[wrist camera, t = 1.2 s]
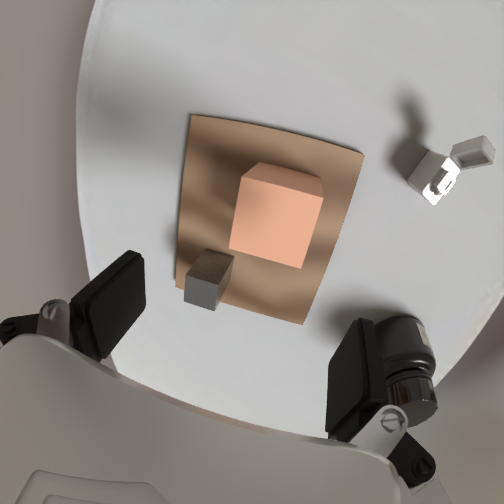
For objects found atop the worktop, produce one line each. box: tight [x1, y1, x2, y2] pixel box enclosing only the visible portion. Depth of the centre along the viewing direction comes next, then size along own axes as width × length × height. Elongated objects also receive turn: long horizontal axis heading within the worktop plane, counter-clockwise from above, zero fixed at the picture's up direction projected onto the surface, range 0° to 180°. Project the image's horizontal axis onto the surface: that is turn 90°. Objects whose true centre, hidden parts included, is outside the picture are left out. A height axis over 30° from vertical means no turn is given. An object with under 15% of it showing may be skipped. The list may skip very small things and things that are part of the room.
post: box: [184, 248, 235, 311], centre depth 27 cm, size 3×3×5 cm
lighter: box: [407, 135, 496, 205], centre depth 17 cm, size 7×2×8 cm, turn 149°
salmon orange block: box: [229, 162, 324, 269], centre depth 22 cm, size 6×6×7 cm
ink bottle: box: [374, 317, 438, 428], centre depth 25 cm, size 10×9×12 cm
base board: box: [175, 115, 365, 325], centre depth 27 cm, size 20×16×1 cm
